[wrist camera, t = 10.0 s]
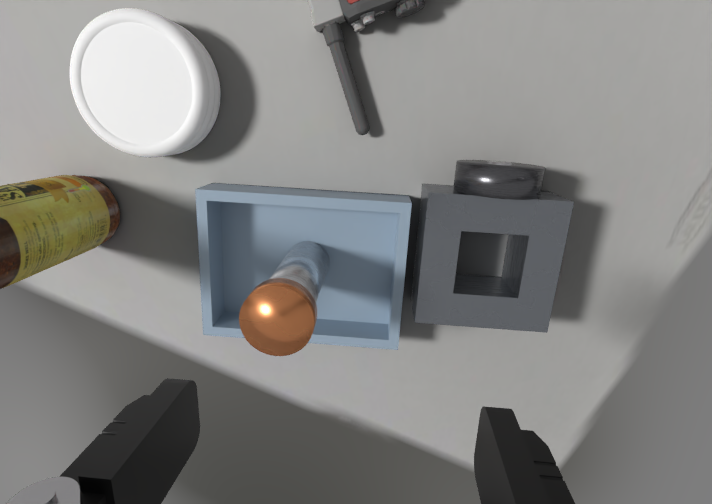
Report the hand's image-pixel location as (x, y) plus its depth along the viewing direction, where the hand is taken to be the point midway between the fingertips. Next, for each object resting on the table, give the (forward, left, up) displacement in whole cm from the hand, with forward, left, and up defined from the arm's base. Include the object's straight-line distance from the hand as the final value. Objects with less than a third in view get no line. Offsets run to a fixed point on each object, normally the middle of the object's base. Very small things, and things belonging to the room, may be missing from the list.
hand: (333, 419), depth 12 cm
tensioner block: (-9, 0, -24) cm, 26 cm away
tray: (+5, +3, -24) cm, 25 cm away
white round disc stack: (+17, -10, -25) cm, 31 cm away
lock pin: (+4, +3, -24) cm, 24 cm away
